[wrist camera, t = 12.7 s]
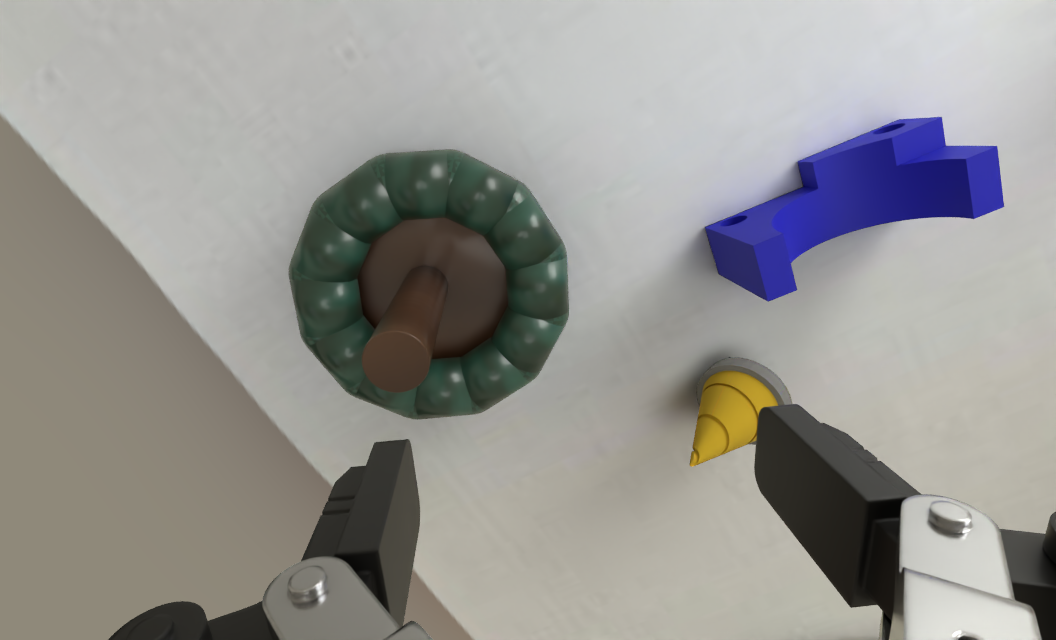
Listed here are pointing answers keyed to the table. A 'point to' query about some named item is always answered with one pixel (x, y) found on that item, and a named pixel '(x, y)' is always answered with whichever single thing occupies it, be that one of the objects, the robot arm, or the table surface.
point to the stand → (427, 299)
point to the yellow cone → (733, 406)
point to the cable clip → (856, 199)
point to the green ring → (423, 193)
